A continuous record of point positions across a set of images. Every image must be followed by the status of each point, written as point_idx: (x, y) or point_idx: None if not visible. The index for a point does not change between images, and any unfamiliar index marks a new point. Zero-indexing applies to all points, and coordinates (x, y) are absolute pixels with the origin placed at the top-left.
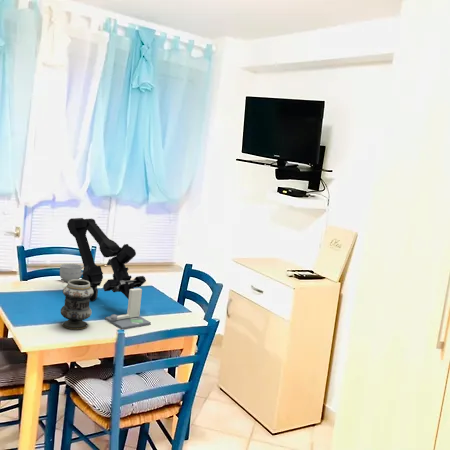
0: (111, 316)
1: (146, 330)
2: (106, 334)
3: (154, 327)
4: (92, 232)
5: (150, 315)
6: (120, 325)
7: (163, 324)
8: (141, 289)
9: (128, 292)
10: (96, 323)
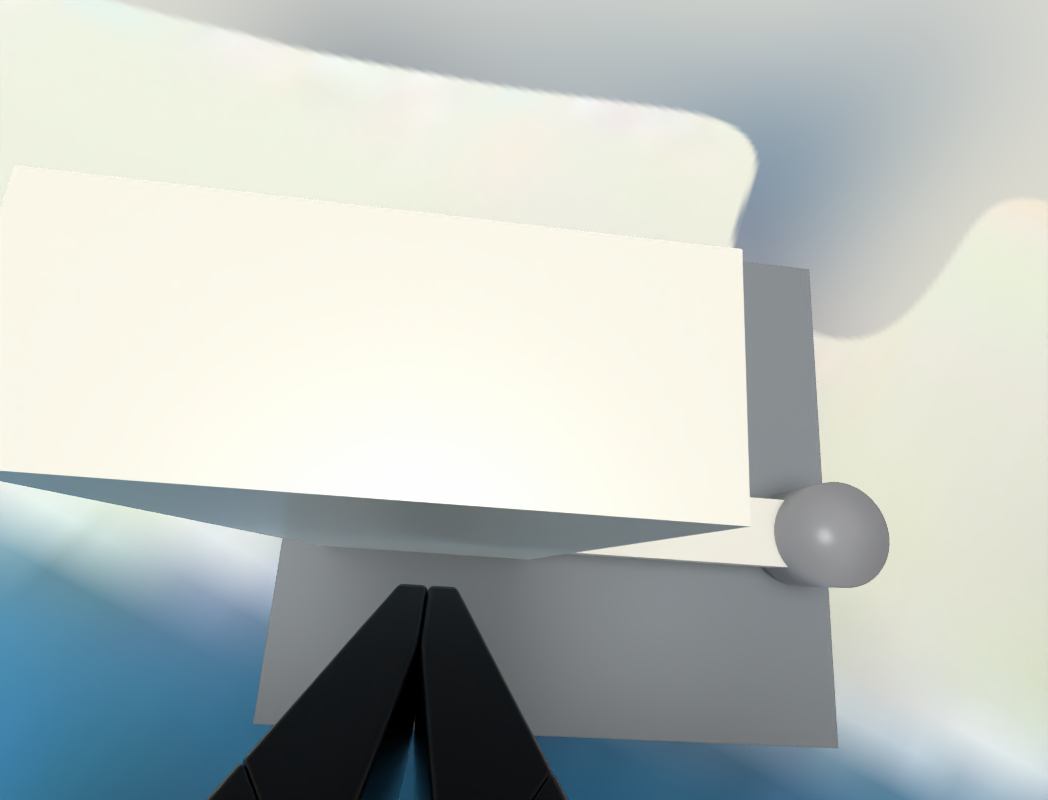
0: (879, 547)
1: (528, 125)
2: (1022, 272)
3: (365, 140)
4: None
5: (11, 538)
6: (797, 337)
7: (167, 151)
8: (72, 173)
9: (534, 765)
10: (997, 647)
